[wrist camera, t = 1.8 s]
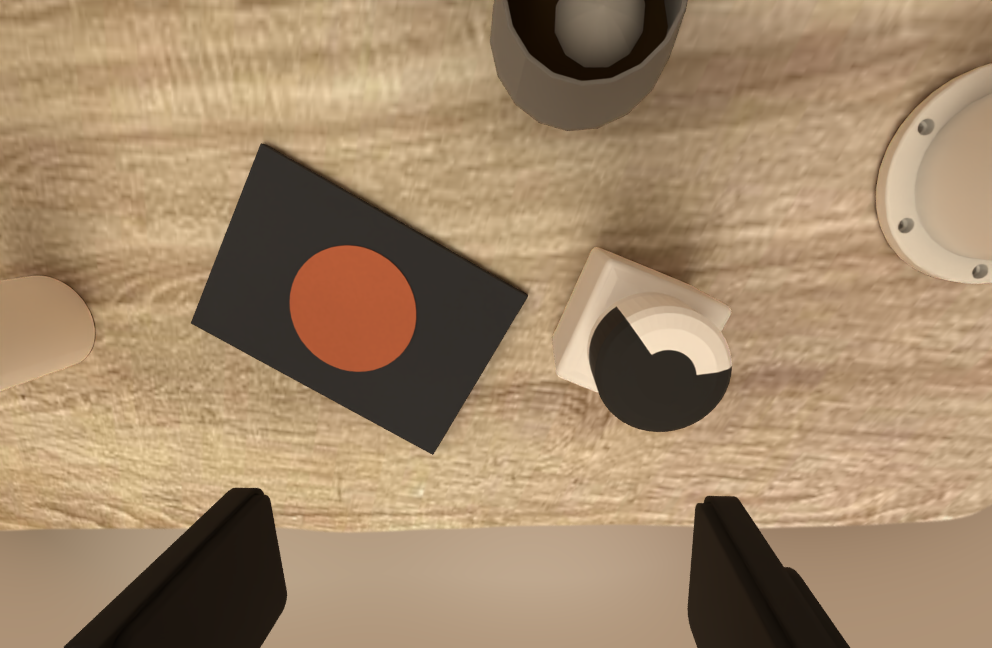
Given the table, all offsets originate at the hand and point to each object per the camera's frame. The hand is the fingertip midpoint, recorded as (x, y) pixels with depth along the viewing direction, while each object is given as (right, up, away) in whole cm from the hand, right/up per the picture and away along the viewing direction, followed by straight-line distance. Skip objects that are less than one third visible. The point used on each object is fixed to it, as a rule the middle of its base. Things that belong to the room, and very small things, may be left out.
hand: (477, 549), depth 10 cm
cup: (+5, +21, +18) cm, 28 cm away
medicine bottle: (+9, +6, +22) cm, 25 cm away
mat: (-10, +6, +23) cm, 26 cm away
